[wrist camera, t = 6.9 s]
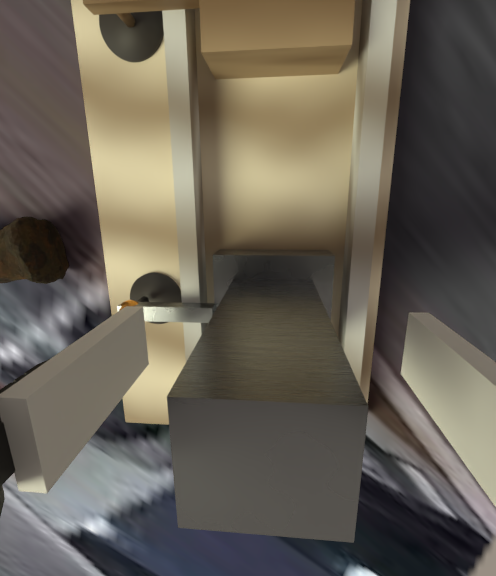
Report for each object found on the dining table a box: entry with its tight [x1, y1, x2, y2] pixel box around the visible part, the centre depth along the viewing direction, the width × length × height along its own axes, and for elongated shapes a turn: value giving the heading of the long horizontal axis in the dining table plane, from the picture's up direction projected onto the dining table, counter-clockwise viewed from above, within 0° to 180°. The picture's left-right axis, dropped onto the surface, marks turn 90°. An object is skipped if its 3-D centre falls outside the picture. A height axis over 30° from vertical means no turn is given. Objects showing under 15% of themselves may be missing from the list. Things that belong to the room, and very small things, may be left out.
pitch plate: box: [71, 0, 410, 424], centre depth 17 cm, size 26×16×5 cm, turn 0°
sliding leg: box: [117, 249, 368, 542], centre depth 13 cm, size 6×11×12 cm, turn 91°
